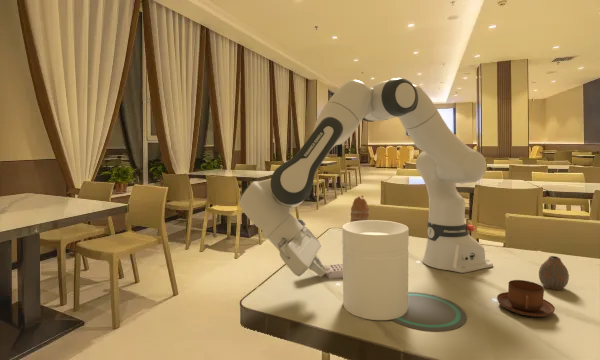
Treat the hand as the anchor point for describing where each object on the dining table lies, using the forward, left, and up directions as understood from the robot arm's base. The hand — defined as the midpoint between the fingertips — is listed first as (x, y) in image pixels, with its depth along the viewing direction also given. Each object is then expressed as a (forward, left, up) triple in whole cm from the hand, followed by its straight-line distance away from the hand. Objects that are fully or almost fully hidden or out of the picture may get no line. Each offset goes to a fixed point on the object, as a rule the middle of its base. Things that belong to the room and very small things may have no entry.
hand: (323, 273), depth 92 cm
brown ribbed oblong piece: (-36, -58, -7) cm, 69 cm away
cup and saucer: (-47, +17, -8) cm, 50 cm away
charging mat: (-22, +7, -7) cm, 24 cm away
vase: (-66, +8, -8) cm, 67 cm away
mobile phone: (-11, -16, -8) cm, 21 cm away
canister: (-12, +6, -7) cm, 15 cm away
